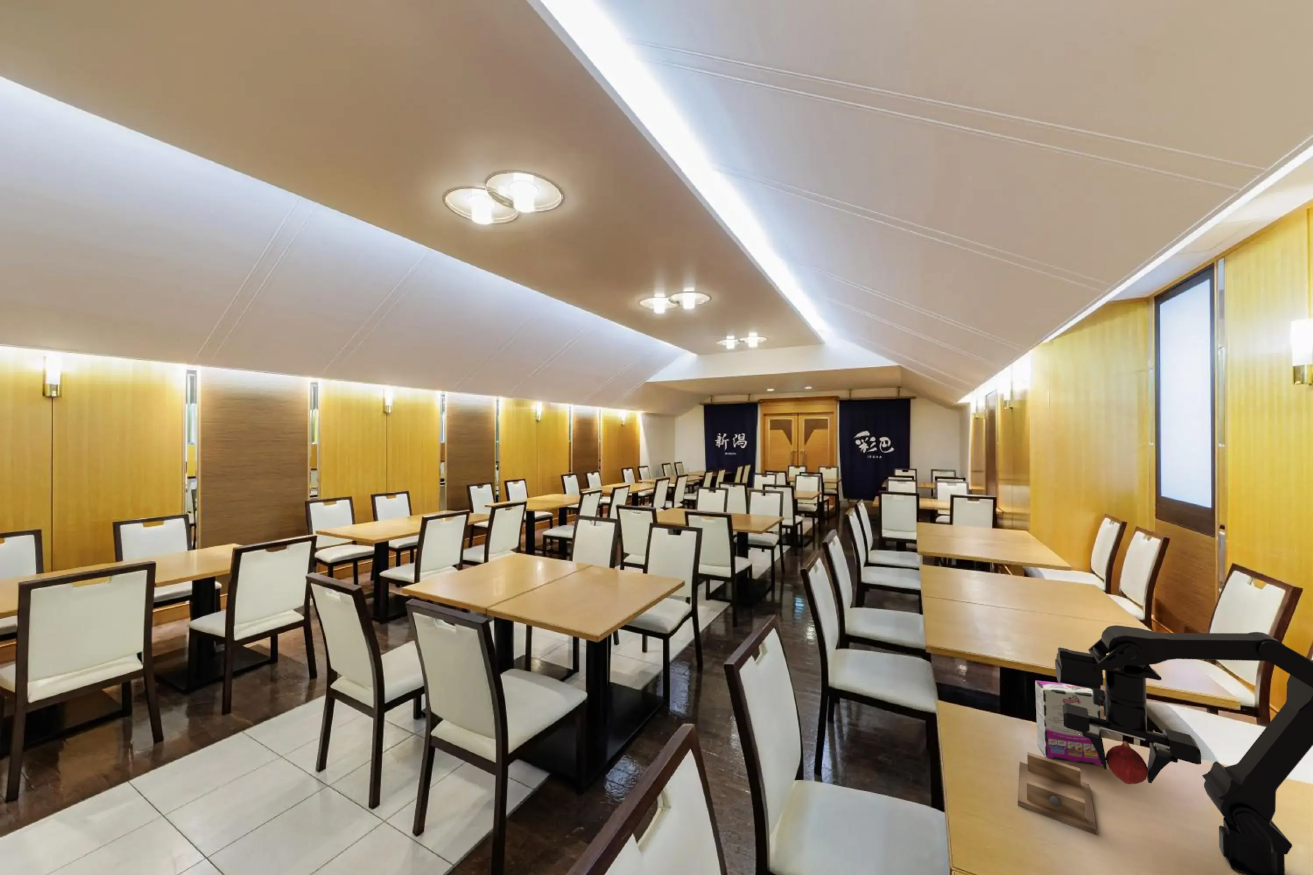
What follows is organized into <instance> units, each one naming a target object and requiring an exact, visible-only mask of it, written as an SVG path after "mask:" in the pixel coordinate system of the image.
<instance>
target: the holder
mask: <svg viewBox="0 0 1313 875" xmlns="http://www.w3.org/2000/svg"><path fill="white" fill-rule="evenodd" d="M1026 755H1027V756H1026V757H1027V763H1026V762H1022V761H1019V765H1018V766H1019V767H1018V771H1019V772H1018V784H1017V785H1018V787H1017V788H1018V789H1017V790H1018V791H1017V792H1018V793H1017V806H1020V807H1023V808H1025V809H1027V810H1030V811H1033V812H1036V813H1038V814H1041V815H1043V816H1046V817H1049V818H1052V819H1054V820H1057V821H1060V822H1062V823H1065V824H1067V825H1071V826H1073V827H1076V828H1078V829H1081V830H1084V831H1086V832H1089V833H1092V834H1094V835H1097V824H1096V819H1095V813H1094V805H1093V800H1092V799H1093V798H1092V794H1091V793H1092V792H1091V787H1090V784H1089V783H1086V782H1083V781H1081V780H1082V779H1081V777H1082V776H1081V775H1082V773H1081V768H1079V767H1076V766H1073V765H1070V764H1067V763H1065V762H1060V761H1058V760H1056V759H1055V760H1053V759H1052V758H1047V757H1046V756H1042V755H1038V754H1034V753H1032V752H1028V751H1027V754H1026Z"/></svg>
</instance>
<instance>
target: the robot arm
mask: <svg viewBox="0 0 1313 875" xmlns="http://www.w3.org/2000/svg"><path fill="white" fill-rule="evenodd" d="M1100 636H1101V638H1099V640H1097V641H1096V642H1095V643H1094V644H1092V646H1090V647H1089V648H1088V649H1087V650H1088V652H1082V651H1079V650H1078V651H1077V650H1072V649H1068V648H1065V647H1058V648H1057V653H1056V658H1054V666H1055V667H1054V668H1055V673H1056V674H1055V675H1056V679H1057V680H1056V681H1057V683H1064V684H1069V685H1074V686H1079V687H1084V688H1089V689H1093V703H1094V704H1095V705H1099V706H1100V707H1103V716H1104V717H1105V719H1103V718H1101V717H1100V718H1097V717H1093V716H1089V715H1088V710H1087V708H1083V707H1079V706H1075V705H1071V704H1067V703H1065V704H1064V705H1062V713H1063V724H1064V726H1065V727H1066V728H1069V729H1072V730H1076V731H1079V732H1082V735H1083V736H1084V737H1087V738H1089V739H1090V741H1091V742H1092V744H1093V746H1094V747H1095V749H1096V751H1097V753H1098V756H1099V758H1100V761H1101V763H1102V765H1101V766H1102V767H1103V770H1108V769H1107V768H1108V764H1107V761H1106V752H1105V746H1104V742H1103V736H1102V731H1106V732H1110V733H1114V734H1118V735H1122V736H1125V737H1129V738H1131V739H1136V740H1140V741H1144V742H1148V743H1149V754H1148V760H1147V768H1148V775H1147V778H1146V780H1147V783H1148V784H1152V783H1153V782H1154V780H1155V779H1156V778H1157V776H1158V774H1159V773H1160V772H1161V771H1162V769H1164V768H1165V767H1166V766H1168V765H1169V764H1170V763H1176V764H1177V763H1179V760H1180V761H1183V762H1187V763H1191V764H1194V765H1198V766H1199V765H1202V752H1201V749H1200V747H1199V746H1198V744H1197V742H1196V740H1195V738H1193V736H1192V735H1191V734H1189V733H1184V732H1181V731H1177V730H1173V729H1168V728H1165V727H1164V728H1163V730H1162V733H1160V732H1156V731H1149V730H1148V725H1147V723H1148V720H1147V718H1148V717H1147V715H1148V714H1147V710H1148V709H1147V679H1149V680H1156V681H1162V679H1163V678H1162V677H1161V675H1159V673H1158V672H1157V671H1156V670H1155V669H1154V668H1153V667H1152V665H1157V664H1161V663H1164V662H1167V661H1171V660H1172V661H1174V660H1201V661H1202V660H1203V661H1204V660H1205V661H1241V662H1242V661H1243V662H1244V661H1247V662H1248V661H1249V662H1251V661H1253V662H1267V663H1268V662H1269V663H1270V664H1272V665H1274V666H1276V667H1277V668H1279V669H1281V670H1282V671H1284V672H1285V673H1287V674H1288V675H1289V676H1288V678H1287V682H1286V696H1285V697H1286V700H1285V703H1284V704H1283V705H1282V707H1281V708H1280V709H1279V710H1278V712H1277V713H1276V714H1275V715H1274V717H1273V718H1272V719H1271V720H1270V721H1269V723H1268V724H1267V726H1266V727H1265V728H1264V729H1263V730H1262V732H1261V733H1260V734H1259V735H1258V737H1257V738H1256V740H1255V741H1254V742H1253V743H1252V745H1251V746H1250V747H1249V748H1248V750H1247V751H1246V753H1245V754H1243V756H1242V757H1241V758H1240V760H1239V762H1237V763H1235V764H1232V765H1228V766H1225V765H1223V764H1222V763H1220V762H1219V761H1218V760H1217V761H1214V762H1213V763H1212V765H1211V768H1210V770H1209V771H1208V772H1207V773H1205V774H1202V778H1203V779H1204V783H1203V788H1204V790H1205V792H1206V795H1207V796H1208V798H1209V799H1210V800H1211V802H1212V803H1213V804H1214V806H1215V807H1216V808H1217V810H1218V811H1219V812H1220V813H1221V815H1222V817H1223V820H1222V821H1223V822H1222V823H1223V825H1218V845H1219V849H1220V851H1221V854H1222V856H1223V857H1224V858H1226V861H1227V863H1228V865H1229V867H1230V869H1232V870H1234V871H1236V872H1240V873H1242V874H1245V875H1286V874H1285V873H1286V866H1285V861H1286V860H1285V856H1286V855H1288V854H1289V853H1290V851H1291V849H1292V848H1293V844H1292V842H1291V841H1290V840H1289V839H1288V837H1287V836H1286V835H1284V833H1283V832H1282V831H1281V830H1280V828H1279V827H1278V826H1277V825H1276V824H1275V822H1274V821H1273V818H1274V815H1275V813H1276V811H1277V810H1276V808H1277V807H1276V806H1277V805H1276V804H1277V801H1276V800H1277V799H1276V798H1277V792H1278V788H1279V787H1280V786H1281V785H1282V784H1283V783H1284V781H1285V780H1286V779H1287V778H1288V776H1289V775H1290V774H1291V773H1292V772H1293V771H1294V769H1295V768H1296V767H1297V765H1298V764H1300V762H1301V761H1302V760H1303V758H1304V757H1305V756H1306V755H1307V754H1308V752H1309V751H1310V750H1311V749H1312V747H1313V659H1310V658H1308V657H1306V656H1304V655H1303V654H1301V653H1299V652H1298V651H1295V650H1294V649H1292V648H1291V647H1289V646H1287V645H1285V643H1282V642H1281V641H1279V640H1278V639H1276V638H1275V637H1273V636H1271V635H1269V634H1267V633H1265V632H1260V631H1253V632H1246V633H1244V632H1240V633H1239V632H1235V633H1233V632H1230V633H1229V632H1228V633H1227V632H1211V633H1210V632H1159V631H1154V630H1153V631H1152V630H1150V629H1149V630H1148V629H1144V628H1140V627H1133V626H1125V625H1109V626H1107V627H1106V628H1105V629H1104V630H1102V633H1101V635H1100ZM1103 685H1104V689H1101V686H1103ZM1100 729H1101V731H1100Z"/></svg>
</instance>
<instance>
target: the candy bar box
mask: <svg viewBox="0 0 1313 875" xmlns="http://www.w3.org/2000/svg"><path fill="white" fill-rule="evenodd" d="M1034 686H1035V688H1034V690H1035V709H1036V713H1035V714H1036V735H1037V736H1036V737H1037V738H1036V741H1037V747H1038V748H1039V750H1040V751H1041V752H1042V754H1043V755H1044V757H1045V758H1048V759H1051V760H1053V759H1055V760H1061V761H1067V762H1073V763H1079V764H1081V763H1082V764H1088V765H1089V764H1090V765H1095V766H1096V765H1097V766H1103V765H1102V763H1101V761H1100V758H1099V756H1098V753H1097V751H1096V749H1095V747H1094V746H1093V744H1092V742H1091V741H1090V739H1089V738H1087V737H1084V736H1083V735H1082V732H1079V731H1076V730H1072V729H1069V728H1066V727H1065V726H1064V724H1063V713H1062V705H1064V704H1065V703H1067V704H1071V705H1075V706H1079V707H1083V708H1087V710H1088V715H1089V716H1093V717H1097V718H1101V706H1099V705H1095V704H1094V703H1093V689H1089V688H1084V687H1079V686H1074V685H1069V684H1064V683H1059V682H1053V681H1052V682H1051V681H1045V680H1043V681H1042V680H1035V682H1034ZM1100 731H1101V732H1102V729H1100ZM1079 734H1080V735H1079Z"/></svg>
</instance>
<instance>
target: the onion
mask: <svg viewBox="0 0 1313 875" xmlns="http://www.w3.org/2000/svg"><path fill="white" fill-rule="evenodd" d="M1105 757H1106V762H1107V768H1109V770H1110V771H1111V772H1112V774H1113V775H1115V777H1116V778H1117V779H1118V780H1120V781H1122V782H1123V783H1124V784H1126V785H1137V784H1141V783H1143V782H1144V781H1146V780H1147V775H1148V768H1147V767H1148V764H1147V763H1146V761H1145V760H1144V758H1143V757H1142V755H1140V754H1139V752H1137V751H1136V750H1135V749H1133V748H1132V747H1131V746H1130V743H1129V742H1128V741H1127V740H1126V741H1125V740H1124V741H1122V742H1121V744H1118V745H1114V746H1112V747H1110V748H1109V749H1108V750H1107V752H1106V753H1105Z"/></svg>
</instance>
